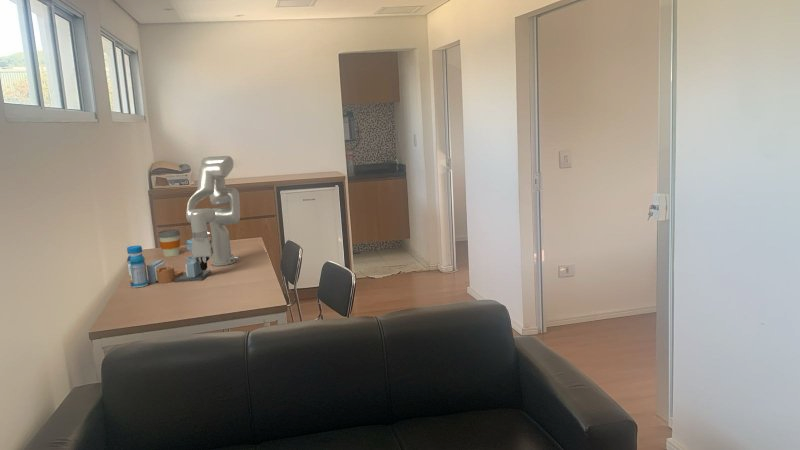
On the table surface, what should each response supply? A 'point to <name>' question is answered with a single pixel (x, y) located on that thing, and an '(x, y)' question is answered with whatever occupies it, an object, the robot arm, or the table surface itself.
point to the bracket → (167, 274)
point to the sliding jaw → (193, 268)
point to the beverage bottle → (136, 267)
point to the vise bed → (199, 277)
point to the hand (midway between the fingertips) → (204, 269)
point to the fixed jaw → (154, 270)
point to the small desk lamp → (189, 249)
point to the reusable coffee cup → (169, 242)
